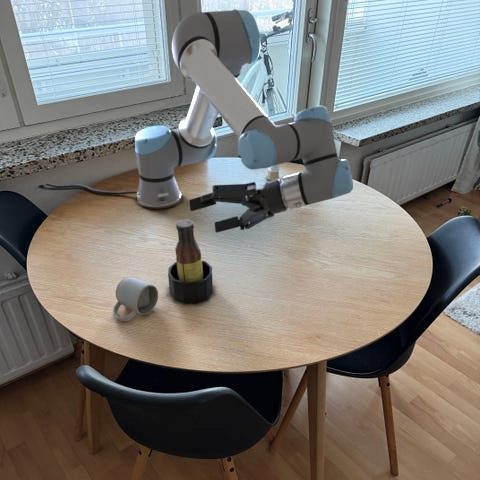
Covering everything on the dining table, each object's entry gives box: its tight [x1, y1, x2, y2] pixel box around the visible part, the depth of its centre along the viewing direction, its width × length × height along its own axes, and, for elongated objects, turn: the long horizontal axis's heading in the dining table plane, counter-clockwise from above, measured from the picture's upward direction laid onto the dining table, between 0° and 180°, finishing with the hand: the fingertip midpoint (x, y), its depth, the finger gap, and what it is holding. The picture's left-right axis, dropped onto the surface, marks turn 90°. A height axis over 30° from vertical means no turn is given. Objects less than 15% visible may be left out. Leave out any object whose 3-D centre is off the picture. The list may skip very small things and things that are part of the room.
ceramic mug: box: [112, 277, 159, 322], centre depth 106 cm, size 11×8×8 cm
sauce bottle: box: [175, 218, 203, 282], centre depth 108 cm, size 7×6×20 cm
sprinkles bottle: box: [266, 164, 281, 181], centre depth 165 cm, size 5×5×13 cm
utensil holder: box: [167, 259, 214, 305], centre depth 112 cm, size 11×11×6 cm
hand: (203, 217), depth 110 cm, fingers open, 13 cm apart
